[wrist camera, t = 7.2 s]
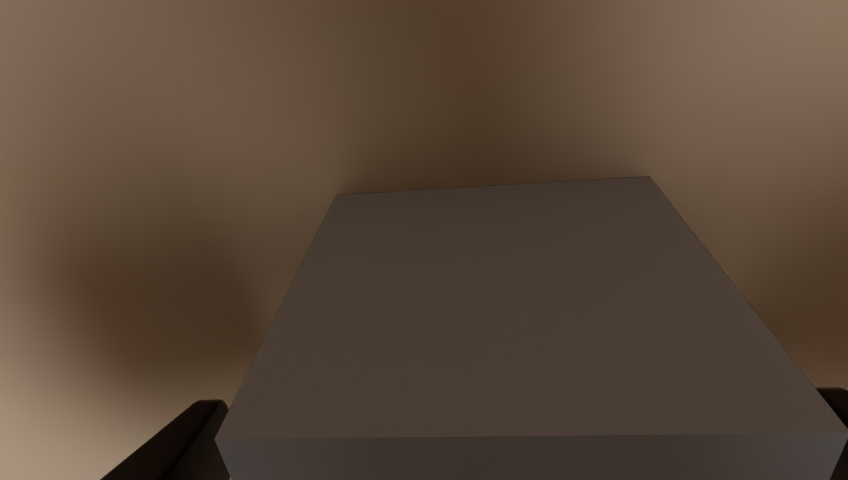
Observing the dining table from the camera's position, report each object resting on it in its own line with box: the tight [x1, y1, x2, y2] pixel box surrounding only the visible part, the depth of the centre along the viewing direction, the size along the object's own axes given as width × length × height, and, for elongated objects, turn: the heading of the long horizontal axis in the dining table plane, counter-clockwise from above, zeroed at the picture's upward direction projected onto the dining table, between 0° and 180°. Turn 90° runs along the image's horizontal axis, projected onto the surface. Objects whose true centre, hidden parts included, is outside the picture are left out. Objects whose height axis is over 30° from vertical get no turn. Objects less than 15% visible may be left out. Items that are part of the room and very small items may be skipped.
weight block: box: [214, 176, 848, 480], centre depth 8 cm, size 6×5×5 cm
